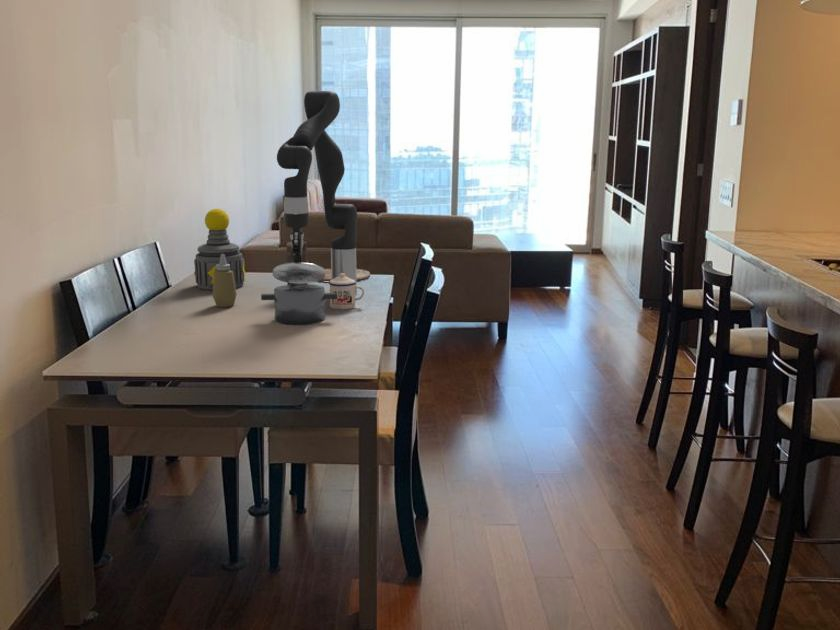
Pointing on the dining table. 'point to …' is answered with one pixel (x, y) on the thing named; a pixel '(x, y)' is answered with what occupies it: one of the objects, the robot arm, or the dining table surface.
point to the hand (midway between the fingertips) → (298, 266)
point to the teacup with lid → (344, 292)
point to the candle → (291, 256)
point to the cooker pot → (299, 303)
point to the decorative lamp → (217, 252)
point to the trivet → (360, 273)
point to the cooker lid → (298, 272)
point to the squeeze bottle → (224, 284)
